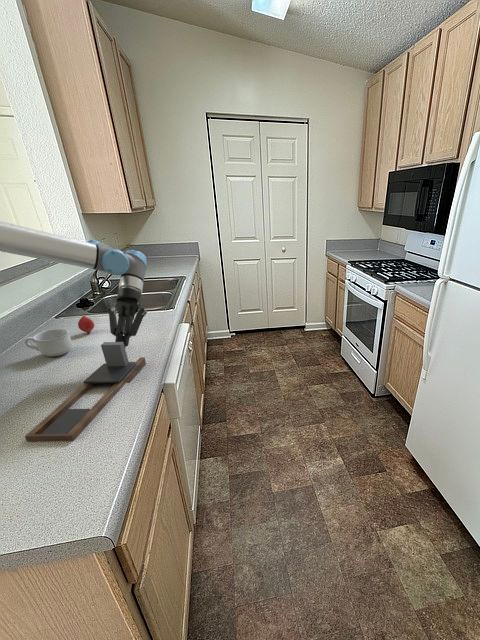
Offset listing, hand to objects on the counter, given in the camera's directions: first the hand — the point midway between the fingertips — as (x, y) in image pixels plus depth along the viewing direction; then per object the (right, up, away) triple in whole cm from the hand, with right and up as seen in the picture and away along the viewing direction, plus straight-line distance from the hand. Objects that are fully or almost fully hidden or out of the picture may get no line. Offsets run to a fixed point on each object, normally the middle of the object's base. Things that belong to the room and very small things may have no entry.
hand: (119, 354), depth 109 cm
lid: (0, -6, -5) cm, 8 cm away
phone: (+1, -18, -25) cm, 31 cm away
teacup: (-33, +1, +15) cm, 37 cm away
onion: (-32, +10, +34) cm, 48 cm away
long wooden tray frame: (0, -12, -12) cm, 17 cm away
